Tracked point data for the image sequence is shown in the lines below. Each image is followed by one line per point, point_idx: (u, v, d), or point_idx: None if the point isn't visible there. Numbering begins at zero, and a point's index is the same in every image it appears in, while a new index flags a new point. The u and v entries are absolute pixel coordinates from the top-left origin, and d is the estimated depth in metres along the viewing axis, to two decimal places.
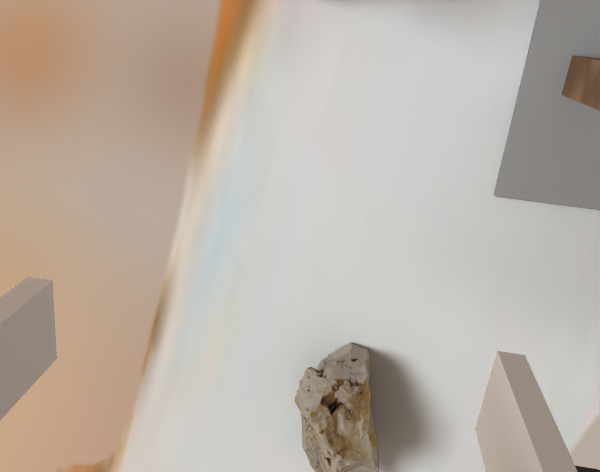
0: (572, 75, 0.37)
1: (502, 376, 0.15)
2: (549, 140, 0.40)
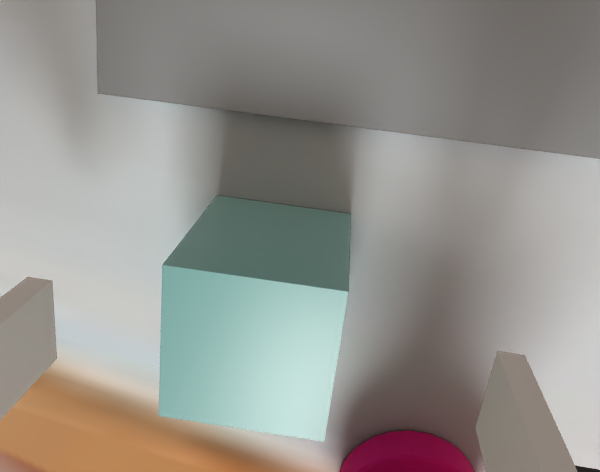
0: None
1: (502, 376, 0.15)
2: None
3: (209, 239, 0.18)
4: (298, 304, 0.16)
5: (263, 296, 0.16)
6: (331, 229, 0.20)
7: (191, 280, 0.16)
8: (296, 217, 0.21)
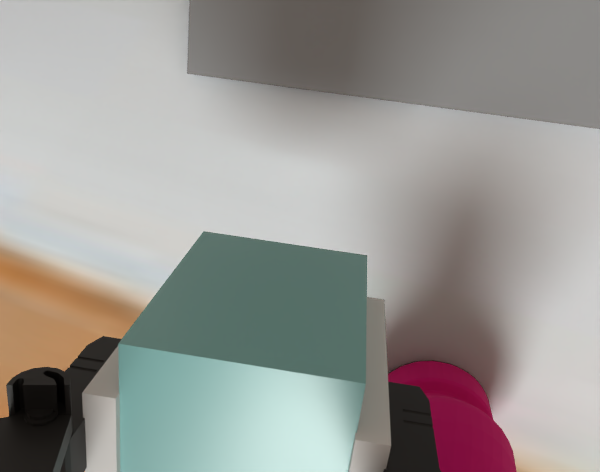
0: None
1: None
2: None
3: (186, 299, 0.14)
4: (298, 397, 0.12)
5: (252, 386, 0.12)
6: (343, 280, 0.16)
7: (156, 363, 0.12)
8: (299, 262, 0.17)
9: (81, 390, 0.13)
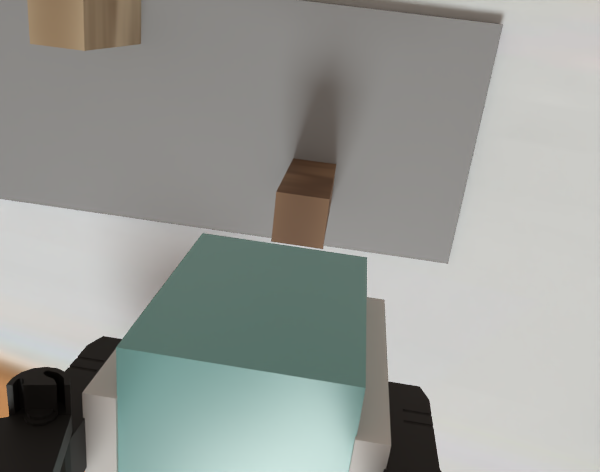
0: None
1: None
2: (382, 212, 0.34)
3: (185, 302, 0.14)
4: (297, 401, 0.12)
5: (251, 390, 0.12)
6: (342, 282, 0.16)
7: (155, 367, 0.12)
8: (298, 264, 0.16)
9: (81, 390, 0.13)
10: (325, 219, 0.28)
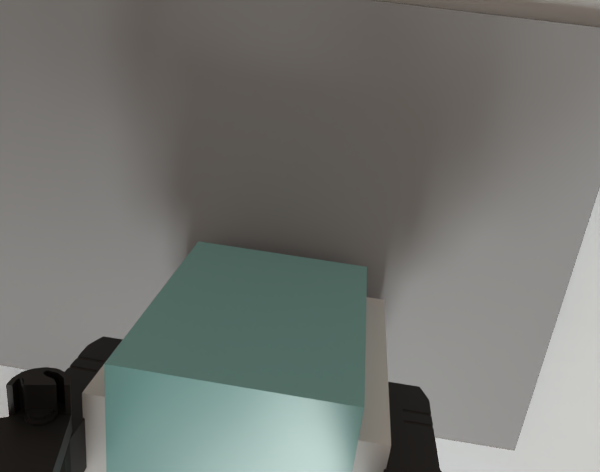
0: None
1: None
2: (399, 365, 0.19)
3: (177, 314, 0.13)
4: (293, 421, 0.11)
5: (244, 409, 0.11)
6: (341, 294, 0.15)
7: (144, 385, 0.11)
8: (296, 274, 0.16)
9: (81, 390, 0.13)
10: None
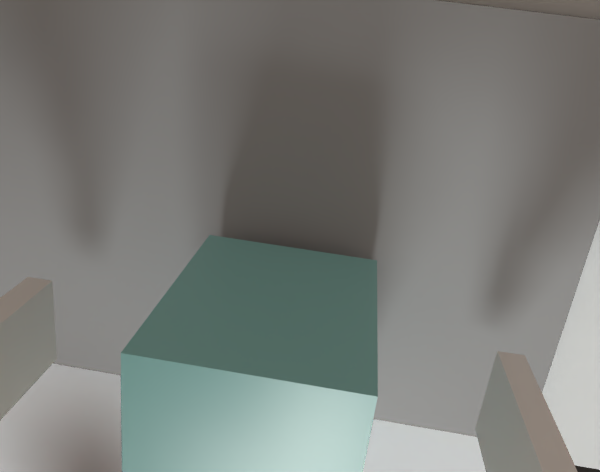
0: None
1: (502, 376, 0.15)
2: (410, 359, 0.19)
3: (191, 306, 0.13)
4: (307, 410, 0.11)
5: (259, 398, 0.11)
6: (352, 286, 0.15)
7: (160, 374, 0.11)
8: (307, 267, 0.16)
9: None
10: None
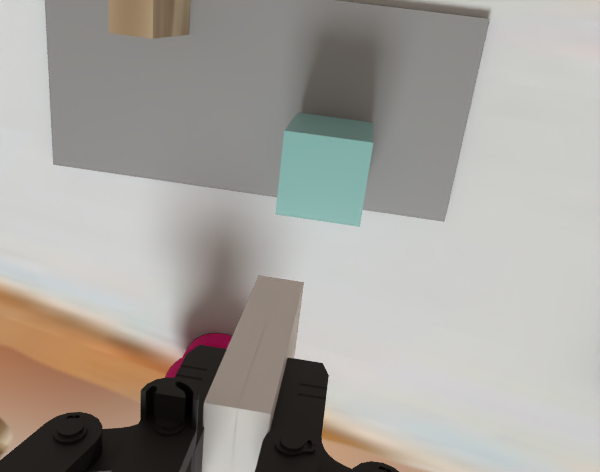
0: None
1: None
2: (388, 177, 0.41)
3: (301, 125, 0.35)
4: (349, 149, 0.33)
5: (332, 146, 0.33)
6: (362, 126, 0.37)
7: (297, 138, 0.33)
8: (343, 121, 0.38)
9: None
10: None
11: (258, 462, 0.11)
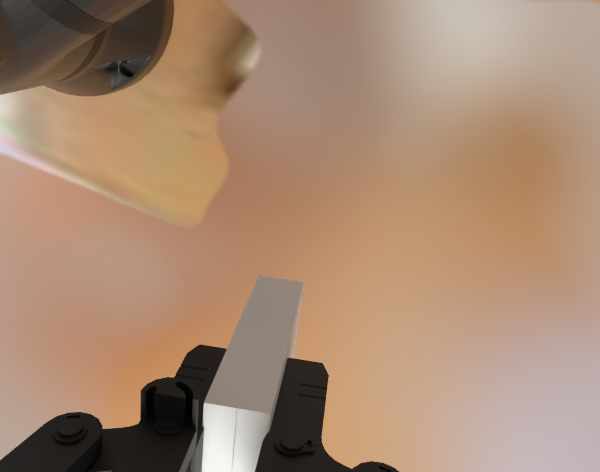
0: None
1: None
2: None
3: None
4: None
5: None
6: None
7: None
8: None
9: None
10: None
11: (258, 462, 0.11)
